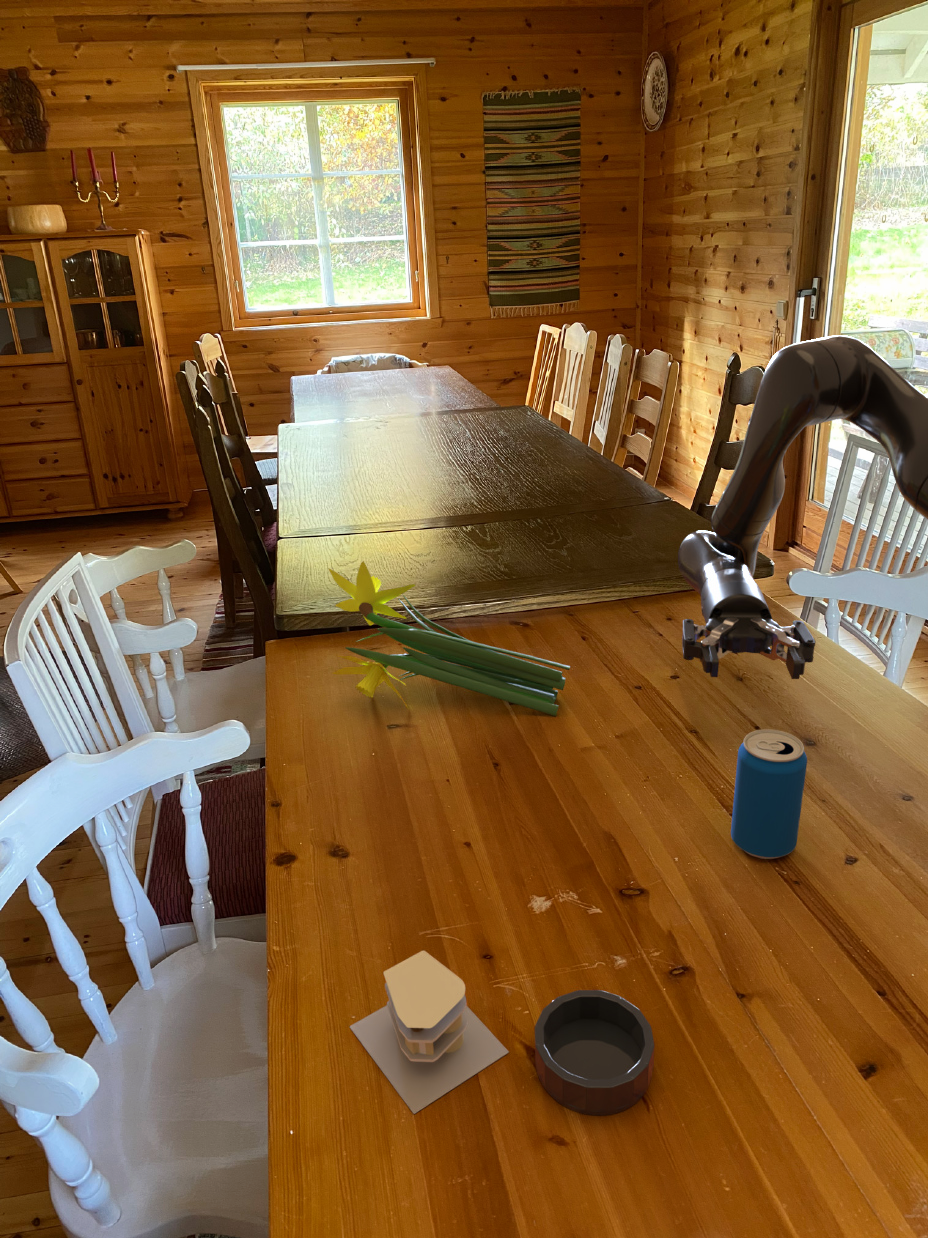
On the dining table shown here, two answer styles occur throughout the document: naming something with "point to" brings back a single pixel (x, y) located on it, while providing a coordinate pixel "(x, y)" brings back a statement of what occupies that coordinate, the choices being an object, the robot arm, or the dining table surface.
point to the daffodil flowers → (443, 653)
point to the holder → (594, 1052)
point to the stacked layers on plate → (426, 1032)
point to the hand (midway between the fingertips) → (755, 670)
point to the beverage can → (768, 793)
